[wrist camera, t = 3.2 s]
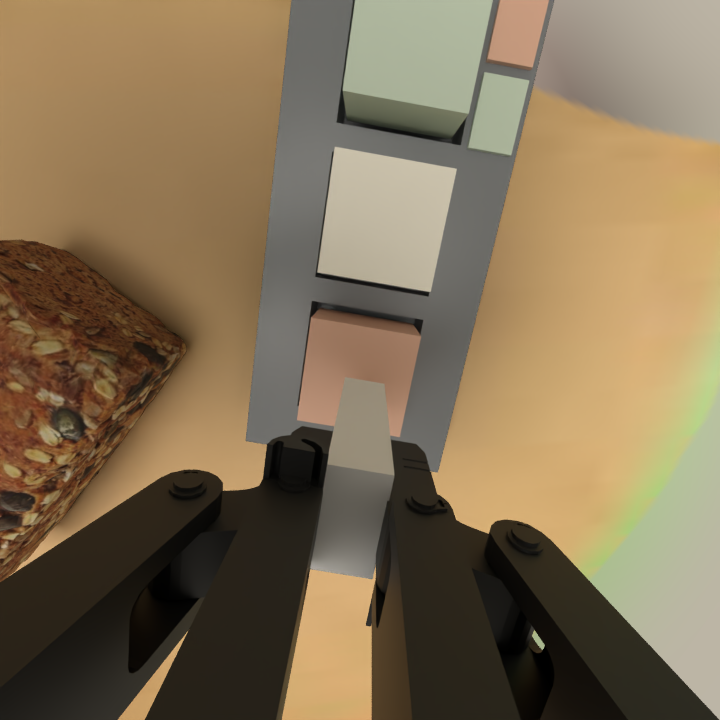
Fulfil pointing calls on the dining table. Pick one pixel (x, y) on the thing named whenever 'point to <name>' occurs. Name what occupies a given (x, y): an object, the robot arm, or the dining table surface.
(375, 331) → the key terracotta
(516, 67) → the keypad board
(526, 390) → the dining table surface
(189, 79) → the dining table surface
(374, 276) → the key cream
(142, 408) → the bread
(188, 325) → the dining table surface
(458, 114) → the key sage
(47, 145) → the dining table surface
